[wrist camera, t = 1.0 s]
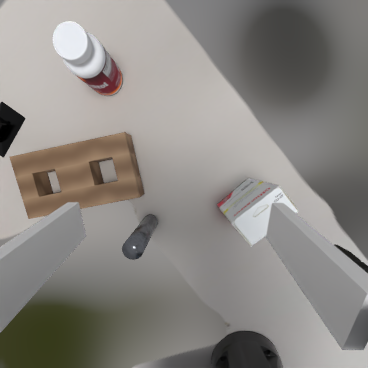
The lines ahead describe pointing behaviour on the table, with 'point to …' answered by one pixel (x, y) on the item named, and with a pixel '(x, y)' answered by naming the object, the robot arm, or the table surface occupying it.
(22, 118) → the black stepped mount
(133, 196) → the socket block
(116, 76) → the pill bottle
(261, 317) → the table surface
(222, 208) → the ink box
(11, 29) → the table surface
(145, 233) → the pin
